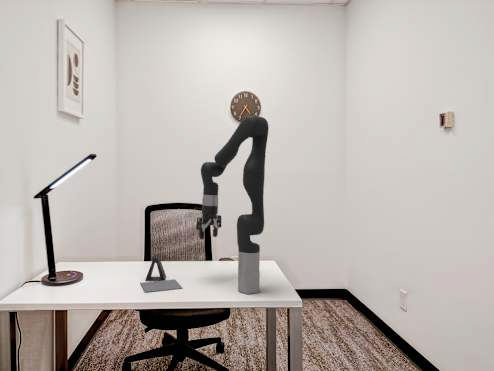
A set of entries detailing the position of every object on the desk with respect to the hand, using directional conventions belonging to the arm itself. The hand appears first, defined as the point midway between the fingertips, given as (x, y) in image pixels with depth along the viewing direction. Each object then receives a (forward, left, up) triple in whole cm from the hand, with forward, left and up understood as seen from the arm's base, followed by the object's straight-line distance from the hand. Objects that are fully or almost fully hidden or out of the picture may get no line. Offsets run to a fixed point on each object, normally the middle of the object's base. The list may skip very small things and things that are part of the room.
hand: (208, 237), depth 177 cm
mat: (-3, +23, -20) cm, 31 cm away
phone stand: (+9, +23, -20) cm, 32 cm away
